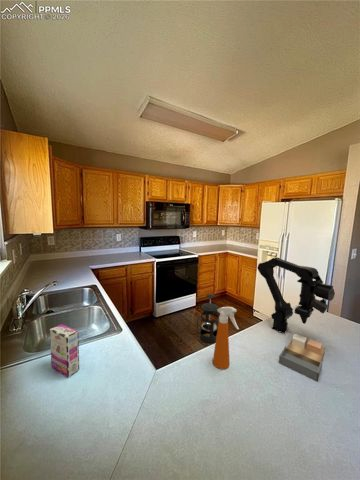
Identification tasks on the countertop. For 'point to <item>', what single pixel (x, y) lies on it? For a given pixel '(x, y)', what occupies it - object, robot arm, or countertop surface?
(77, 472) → the countertop surface
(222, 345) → the spray bottle
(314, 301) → the robot arm
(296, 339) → the cream rectangular block
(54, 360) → the candy bar box
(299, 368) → the tray
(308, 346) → the tan cardboard box
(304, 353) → the oak board
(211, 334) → the french press
